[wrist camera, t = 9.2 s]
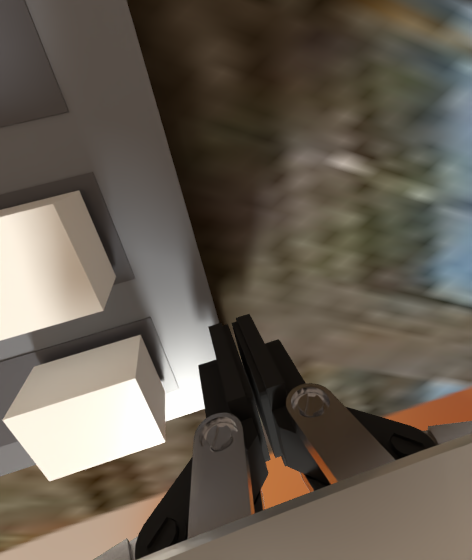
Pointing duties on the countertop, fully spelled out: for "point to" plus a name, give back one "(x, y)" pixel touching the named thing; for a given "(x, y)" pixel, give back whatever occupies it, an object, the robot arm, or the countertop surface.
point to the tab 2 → (89, 408)
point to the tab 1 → (50, 265)
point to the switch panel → (100, 193)
